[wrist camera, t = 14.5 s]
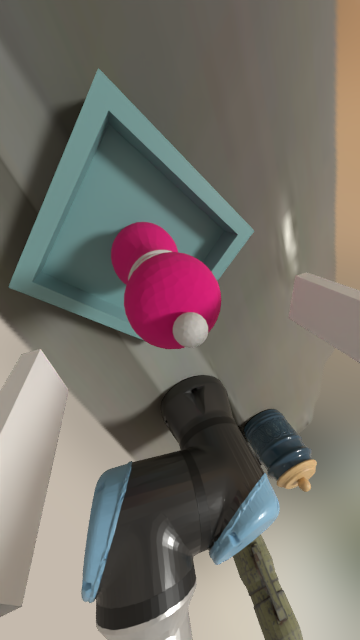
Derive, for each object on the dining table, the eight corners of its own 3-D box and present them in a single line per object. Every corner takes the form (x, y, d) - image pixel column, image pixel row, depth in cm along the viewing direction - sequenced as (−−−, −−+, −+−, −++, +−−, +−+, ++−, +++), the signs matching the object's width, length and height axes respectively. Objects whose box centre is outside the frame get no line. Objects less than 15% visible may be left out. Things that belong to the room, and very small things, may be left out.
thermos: (204, 478, 70) (271, 672, 41) (202, 463, 64) (278, 680, 35) (227, 468, 72) (307, 648, 43) (227, 453, 65) (320, 652, 37)
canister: (285, 403, 60) (341, 468, 46) (273, 429, 67) (319, 493, 52) (247, 413, 57) (295, 487, 42) (238, 440, 63) (277, 511, 49)
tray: (160, 333, 34) (166, 349, 31) (23, 273, 24) (8, 287, 20) (235, 226, 29) (254, 230, 25) (100, 94, 19) (98, 68, 15)
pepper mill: (99, 258, 25) (81, 373, 8) (130, 204, 23) (185, 217, 7) (148, 286, 28) (202, 406, 12) (178, 242, 27) (290, 312, 10)
